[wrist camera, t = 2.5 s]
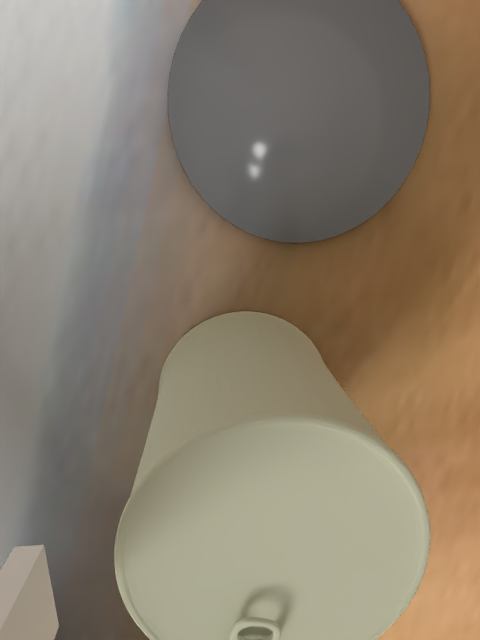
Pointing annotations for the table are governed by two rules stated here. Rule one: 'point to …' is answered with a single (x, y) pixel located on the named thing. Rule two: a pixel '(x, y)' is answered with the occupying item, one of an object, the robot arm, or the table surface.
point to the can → (265, 498)
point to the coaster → (298, 111)
